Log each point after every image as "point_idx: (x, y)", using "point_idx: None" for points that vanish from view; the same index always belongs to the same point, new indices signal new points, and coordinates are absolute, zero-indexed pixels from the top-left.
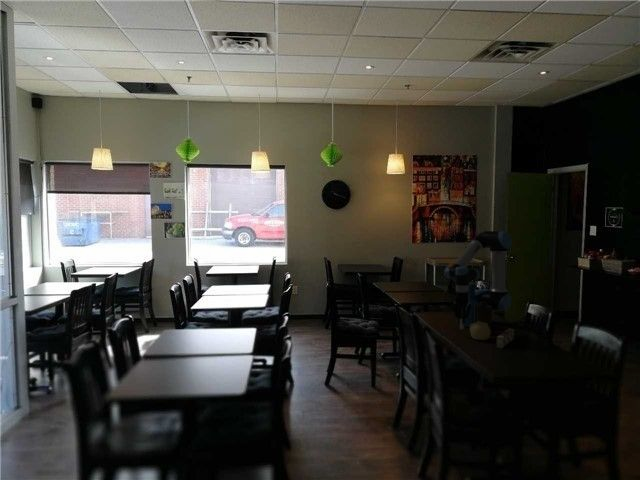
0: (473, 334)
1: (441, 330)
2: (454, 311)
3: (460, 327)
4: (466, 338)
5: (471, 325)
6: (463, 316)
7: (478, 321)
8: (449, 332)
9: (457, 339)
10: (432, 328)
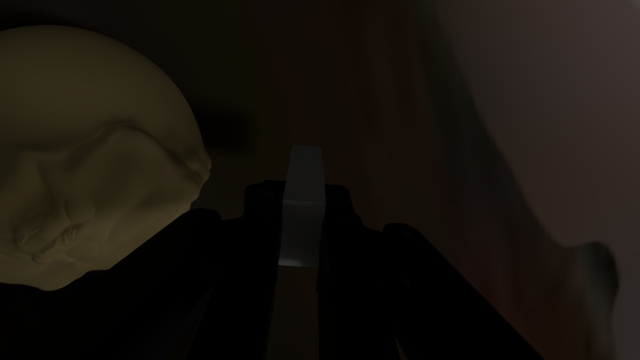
0: (128, 48)
1: (503, 249)
2: (484, 302)
3: (312, 153)
4: (246, 95)
5: (131, 126)
6: (249, 227)
7: (48, 248)
8: (432, 221)
9: (311, 10)
10: (578, 272)
